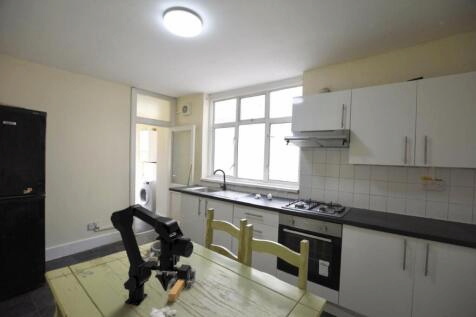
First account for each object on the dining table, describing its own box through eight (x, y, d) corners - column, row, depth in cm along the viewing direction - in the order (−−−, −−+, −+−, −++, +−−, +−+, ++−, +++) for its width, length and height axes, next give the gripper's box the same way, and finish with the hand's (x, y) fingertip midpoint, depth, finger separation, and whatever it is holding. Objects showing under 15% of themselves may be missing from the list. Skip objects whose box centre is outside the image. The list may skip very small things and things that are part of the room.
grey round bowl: (172, 260, 126) (172, 252, 126) (144, 257, 129) (144, 249, 129) (184, 247, 144) (185, 240, 144) (159, 245, 147) (159, 238, 147)
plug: (176, 301, 91) (176, 292, 91) (166, 300, 92) (167, 291, 92) (189, 280, 107) (189, 272, 107) (181, 279, 108) (181, 271, 108)
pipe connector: (160, 263, 122) (161, 246, 122) (152, 272, 112) (152, 253, 112) (144, 262, 123) (144, 244, 123) (134, 271, 113) (134, 252, 113)
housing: (191, 287, 101) (191, 275, 101) (170, 285, 102) (171, 273, 102) (195, 279, 107) (195, 269, 107) (176, 277, 109) (176, 267, 108)
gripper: (196, 245, 93) (195, 281, 93) (155, 241, 95) (154, 276, 95) (187, 257, 82) (185, 298, 82) (141, 253, 84) (140, 292, 84)
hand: (166, 290), depth 86 cm, fingers closed
